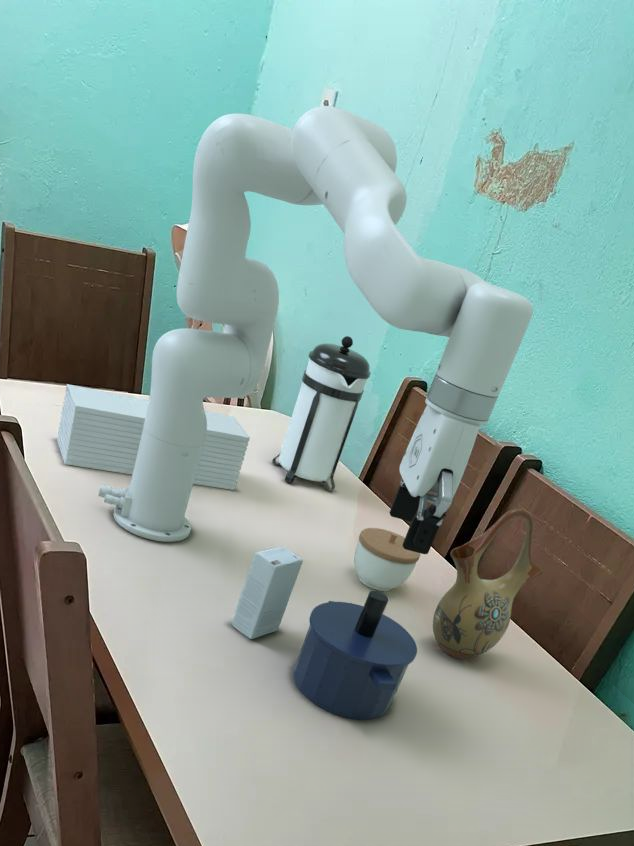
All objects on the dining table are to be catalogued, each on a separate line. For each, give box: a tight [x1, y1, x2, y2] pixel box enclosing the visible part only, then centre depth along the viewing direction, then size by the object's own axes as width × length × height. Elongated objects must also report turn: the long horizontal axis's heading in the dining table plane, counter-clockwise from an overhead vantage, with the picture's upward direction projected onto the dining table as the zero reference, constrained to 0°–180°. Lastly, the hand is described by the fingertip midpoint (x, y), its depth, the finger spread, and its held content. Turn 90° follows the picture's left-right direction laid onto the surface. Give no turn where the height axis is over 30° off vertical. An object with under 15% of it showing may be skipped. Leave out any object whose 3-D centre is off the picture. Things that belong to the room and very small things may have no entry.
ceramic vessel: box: [432, 508, 545, 660], centre depth 130 cm, size 16×9×25 cm, turn 107°
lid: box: [309, 590, 418, 669], centre depth 111 cm, size 15×15×7 cm
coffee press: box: [272, 335, 372, 492], centre depth 178 cm, size 17×16×30 cm
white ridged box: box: [56, 383, 251, 491], centre depth 160 cm, size 32×11×11 cm, turn 110°
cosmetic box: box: [231, 545, 304, 640], centre depth 120 cm, size 6×4×12 cm
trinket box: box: [353, 527, 421, 592], centre depth 147 cm, size 11×11×9 cm
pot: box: [292, 600, 409, 720], centre depth 115 cm, size 14×19×8 cm
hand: (407, 533), depth 107 cm, fingers open, 9 cm apart
